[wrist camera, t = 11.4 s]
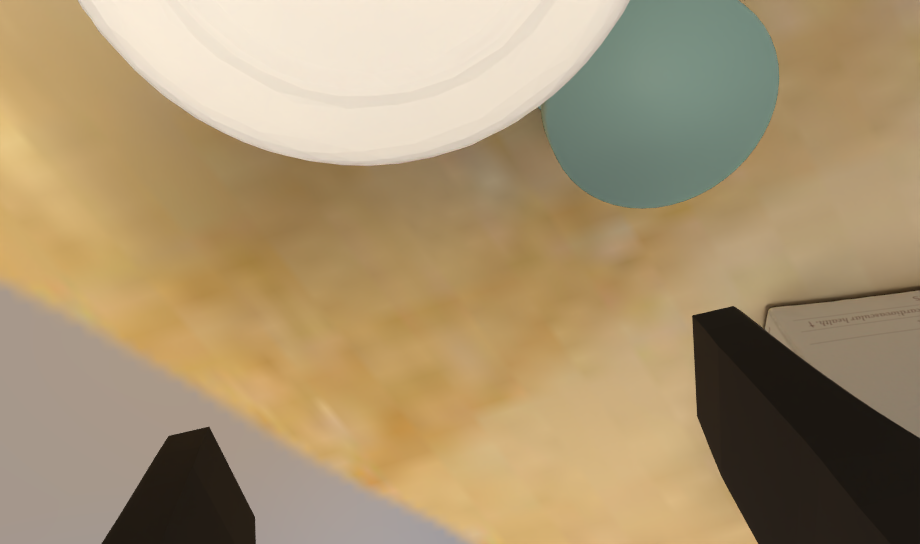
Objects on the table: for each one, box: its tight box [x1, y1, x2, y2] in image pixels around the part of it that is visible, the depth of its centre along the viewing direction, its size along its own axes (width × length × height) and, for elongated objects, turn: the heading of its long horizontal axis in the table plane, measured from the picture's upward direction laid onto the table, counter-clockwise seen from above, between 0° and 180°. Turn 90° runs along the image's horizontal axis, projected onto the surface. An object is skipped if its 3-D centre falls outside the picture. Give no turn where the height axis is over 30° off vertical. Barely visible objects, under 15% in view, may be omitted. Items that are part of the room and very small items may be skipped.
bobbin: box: [538, 0, 779, 208], centre depth 19 cm, size 5×5×4 cm
